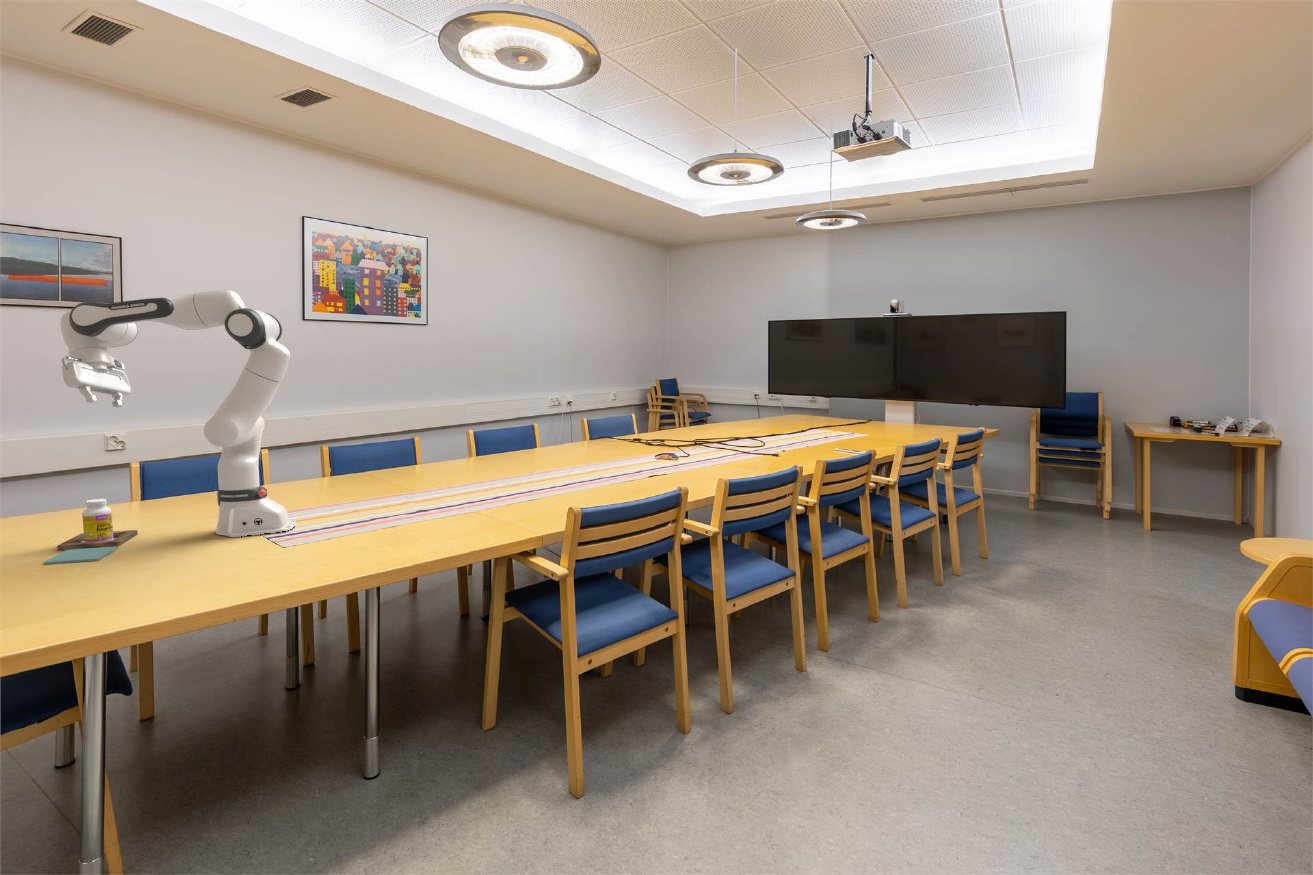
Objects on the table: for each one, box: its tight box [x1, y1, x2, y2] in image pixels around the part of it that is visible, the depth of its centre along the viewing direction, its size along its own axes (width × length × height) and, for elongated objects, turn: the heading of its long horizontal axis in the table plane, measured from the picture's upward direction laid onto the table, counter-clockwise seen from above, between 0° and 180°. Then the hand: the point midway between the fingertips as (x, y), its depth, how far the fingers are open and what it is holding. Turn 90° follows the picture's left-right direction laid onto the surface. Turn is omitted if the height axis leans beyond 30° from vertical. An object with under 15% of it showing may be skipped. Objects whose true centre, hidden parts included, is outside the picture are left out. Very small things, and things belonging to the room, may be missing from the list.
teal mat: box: [42, 546, 120, 565], centre depth 178 cm, size 12×12×1 cm
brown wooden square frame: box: [56, 529, 139, 552], centre depth 191 cm, size 14×14×2 cm
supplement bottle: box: [81, 498, 114, 542], centre depth 190 cm, size 7×7×13 cm
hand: (105, 404), depth 191 cm, fingers open, 8 cm apart
